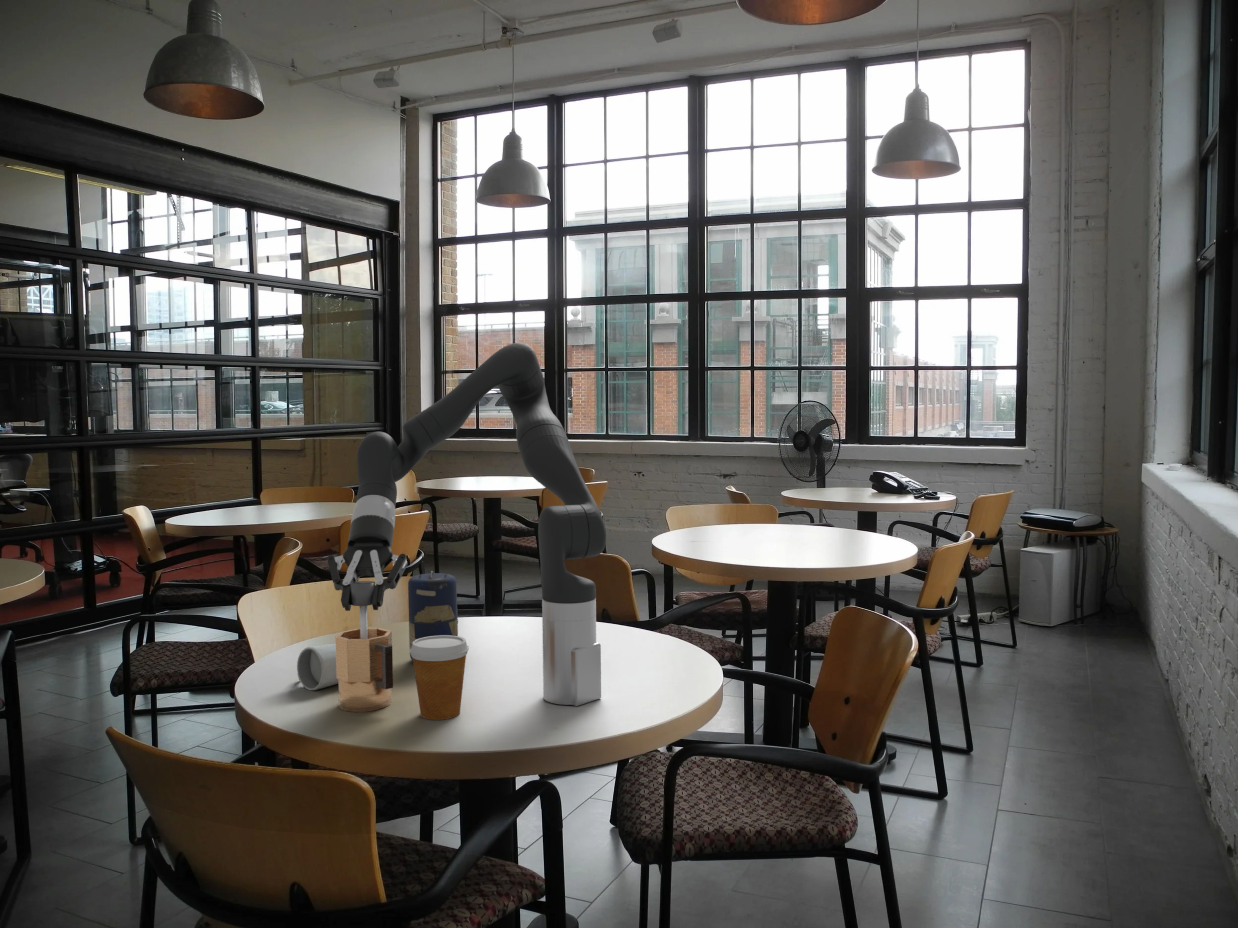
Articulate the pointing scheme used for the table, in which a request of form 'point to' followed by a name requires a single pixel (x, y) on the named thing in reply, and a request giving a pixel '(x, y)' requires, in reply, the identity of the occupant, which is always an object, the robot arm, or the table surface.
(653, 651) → the table surface
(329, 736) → the table surface
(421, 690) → the disposable coffee cup
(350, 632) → the wooden pitcher
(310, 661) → the ceramic mug
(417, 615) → the canister
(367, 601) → the plunger
